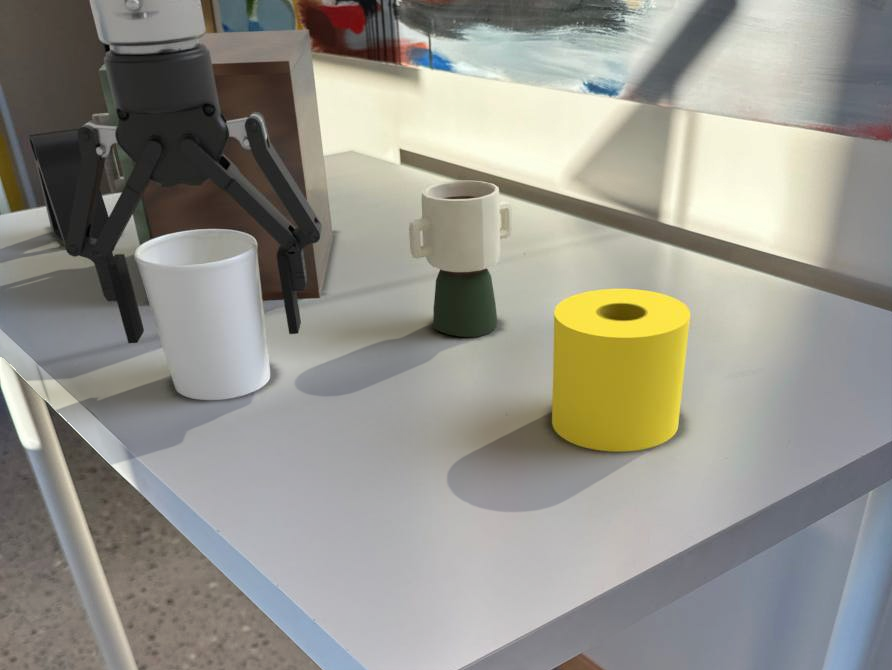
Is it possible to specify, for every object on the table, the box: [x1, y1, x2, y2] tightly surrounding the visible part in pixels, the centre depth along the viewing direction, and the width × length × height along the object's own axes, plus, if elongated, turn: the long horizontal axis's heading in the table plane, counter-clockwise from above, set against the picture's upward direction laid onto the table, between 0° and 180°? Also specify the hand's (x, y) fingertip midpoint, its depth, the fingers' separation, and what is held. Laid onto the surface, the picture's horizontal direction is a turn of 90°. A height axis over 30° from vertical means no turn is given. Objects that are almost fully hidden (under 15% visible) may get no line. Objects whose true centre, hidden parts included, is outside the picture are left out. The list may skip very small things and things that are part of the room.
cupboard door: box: [91, 63, 153, 246], centre depth 104 cm, size 6×22×22 cm, turn 10°
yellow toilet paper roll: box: [551, 288, 691, 453], centre depth 75 cm, size 10×10×9 cm
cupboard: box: [143, 28, 334, 302], centre depth 104 cm, size 16×22×22 cm
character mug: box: [408, 179, 513, 338], centre depth 90 cm, size 11×7×13 cm, turn 123°
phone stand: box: [28, 128, 110, 247], centre depth 119 cm, size 9×6×12 cm, turn 30°
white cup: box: [133, 229, 271, 401], centre depth 82 cm, size 10×10×12 cm
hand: (216, 333), depth 83 cm, fingers open, 13 cm apart
